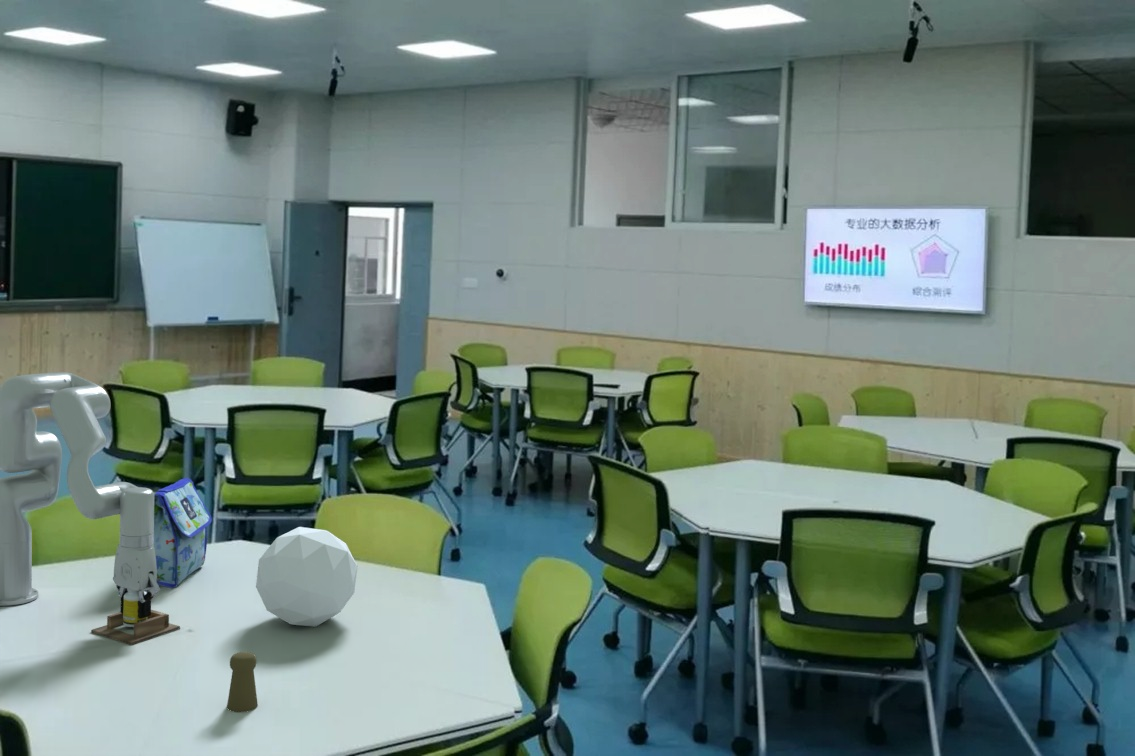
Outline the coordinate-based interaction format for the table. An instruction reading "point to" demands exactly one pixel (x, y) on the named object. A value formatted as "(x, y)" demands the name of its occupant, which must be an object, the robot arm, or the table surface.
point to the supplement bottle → (131, 608)
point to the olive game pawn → (242, 683)
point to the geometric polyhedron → (306, 576)
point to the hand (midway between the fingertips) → (135, 613)
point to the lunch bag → (179, 532)
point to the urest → (136, 628)
